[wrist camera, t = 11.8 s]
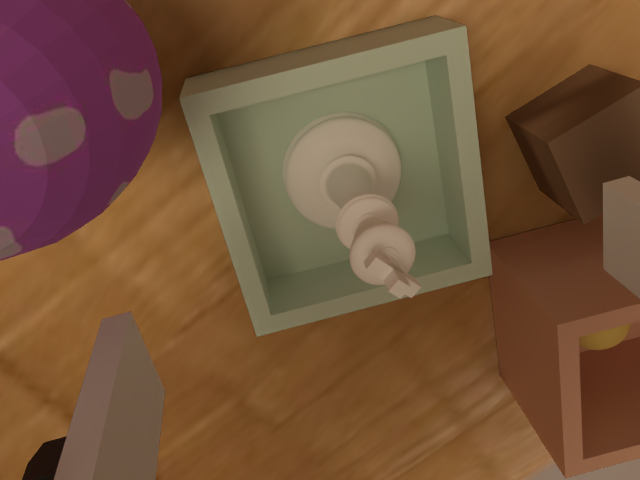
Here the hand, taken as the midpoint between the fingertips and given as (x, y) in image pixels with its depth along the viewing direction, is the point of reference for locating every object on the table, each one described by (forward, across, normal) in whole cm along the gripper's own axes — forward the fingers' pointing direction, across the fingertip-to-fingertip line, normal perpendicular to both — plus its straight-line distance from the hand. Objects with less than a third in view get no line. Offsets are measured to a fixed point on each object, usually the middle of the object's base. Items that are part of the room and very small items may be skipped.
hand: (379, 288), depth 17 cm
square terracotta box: (+10, +11, -10) cm, 18 cm away
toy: (+11, -7, +7) cm, 15 cm away
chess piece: (+10, +1, 0) cm, 10 cm away
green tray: (+10, +1, 0) cm, 10 cm away
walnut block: (+10, +11, -1) cm, 15 cm away
